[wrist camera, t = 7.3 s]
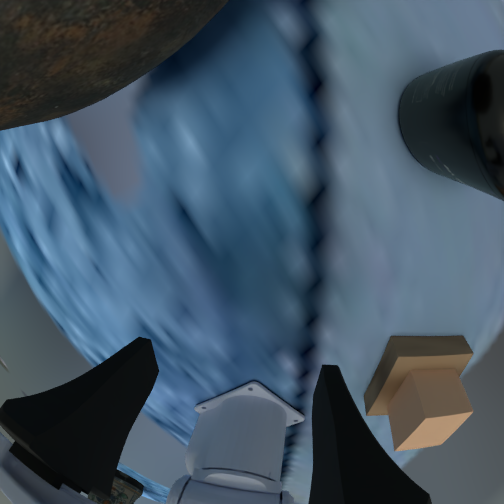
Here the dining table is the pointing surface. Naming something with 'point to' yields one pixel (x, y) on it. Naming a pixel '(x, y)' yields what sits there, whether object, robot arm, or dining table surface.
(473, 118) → the supplement bottle
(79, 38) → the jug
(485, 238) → the dining table surface
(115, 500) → the beer stein
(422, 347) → the walnut base
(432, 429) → the terracotta cube
